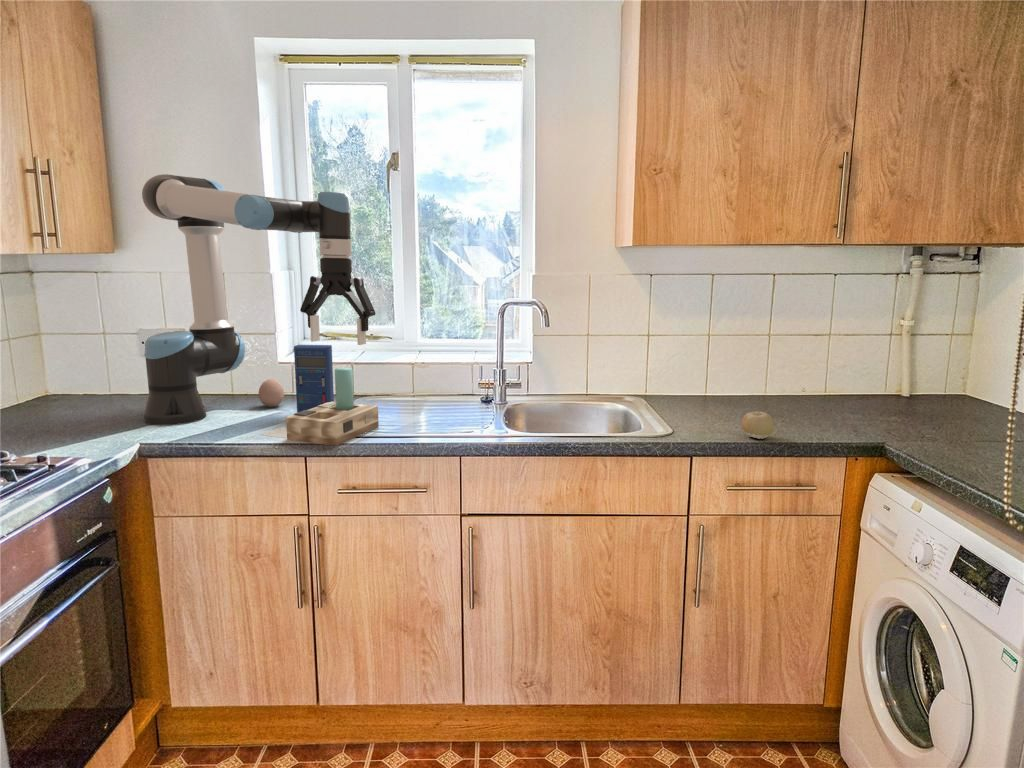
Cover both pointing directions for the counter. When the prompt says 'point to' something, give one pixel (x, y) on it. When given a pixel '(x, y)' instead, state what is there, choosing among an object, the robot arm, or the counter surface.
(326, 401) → the electronic device
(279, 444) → the counter surface
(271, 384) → the egg
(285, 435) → the mat
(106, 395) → the counter surface
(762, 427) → the fruit
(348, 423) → the socket block
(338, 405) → the pale green cylinder
